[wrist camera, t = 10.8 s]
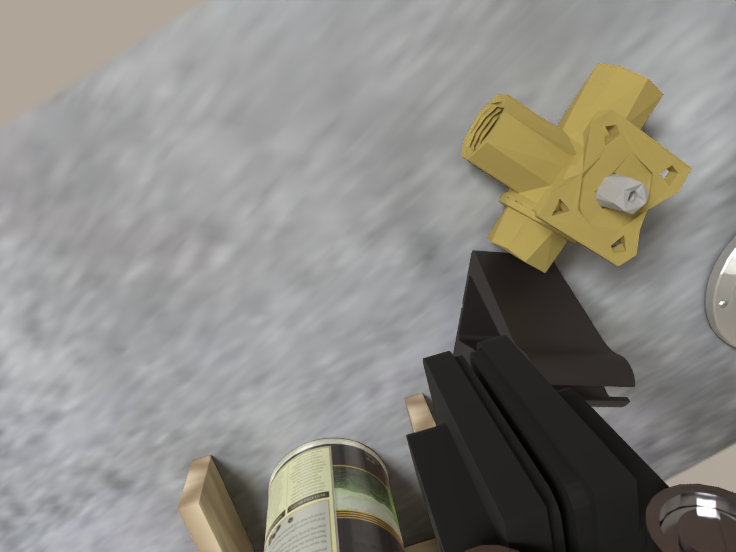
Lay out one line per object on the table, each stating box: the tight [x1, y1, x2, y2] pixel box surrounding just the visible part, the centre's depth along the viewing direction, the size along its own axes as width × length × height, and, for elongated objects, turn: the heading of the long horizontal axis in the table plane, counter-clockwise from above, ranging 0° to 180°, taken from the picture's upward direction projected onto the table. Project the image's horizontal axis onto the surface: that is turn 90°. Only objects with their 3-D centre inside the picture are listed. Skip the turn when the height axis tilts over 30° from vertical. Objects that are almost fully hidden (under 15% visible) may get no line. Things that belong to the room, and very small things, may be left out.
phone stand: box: [453, 250, 635, 407], centre depth 32 cm, size 9×6×12 cm, turn 174°
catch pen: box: [178, 393, 440, 552], centre depth 39 cm, size 19×17×5 cm
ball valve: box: [461, 63, 692, 273], centre depth 29 cm, size 13×10×10 cm
